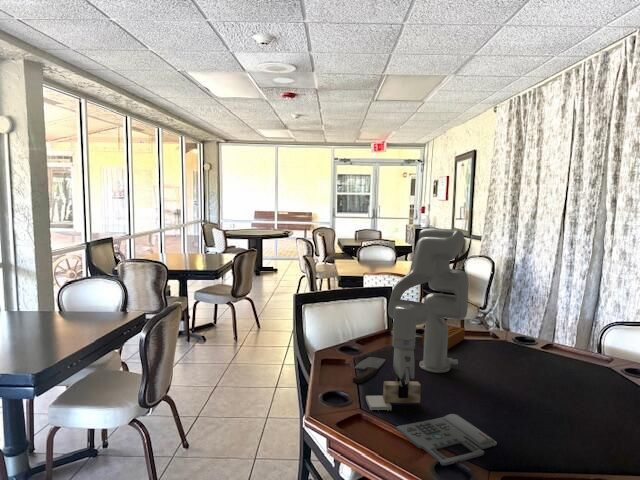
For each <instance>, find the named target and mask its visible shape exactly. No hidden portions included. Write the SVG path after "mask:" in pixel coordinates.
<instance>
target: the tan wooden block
mask: <svg viewBox="0 0 640 480" xmlns="http://www.w3.org/2000/svg"><path fill="white" fill-rule="evenodd" d="M402 382H403V381H402ZM382 386H383V388H382V389H383V390H382V396H383V400H384V402H385V403H390V404H391V403H395V404H397V403H398V404H399V403H402V404H403V403H405V404H407V403H408V404H410V403H419V404H420V403H421V391H422V385H421V383H420V382H419V381H412V380H411V381H410V384H409V387H408V398H399V397H398V390H399V386H400V381H396V380H395V381H393V380H392V381H391V380H389V381H388V380H387V381H385V380H383V385H382Z"/></svg>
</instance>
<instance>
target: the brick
mask: <svg viewBox="0 0 640 480" xmlns="http://www.w3.org/2000/svg"><path fill="white" fill-rule="evenodd" d="M447 325H448V344H447V350H449V349H450V348H452V347H454V346H455V345H457V344H458V343H460V342H461V341H463V340H465V333H466V332H465V331H466V330H465V328H464V327H460V326H459V327H458V326H454V325H451V324H447ZM424 335H425V332H423V333H422V339H421V340H422V341H421V346H424Z"/></svg>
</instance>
